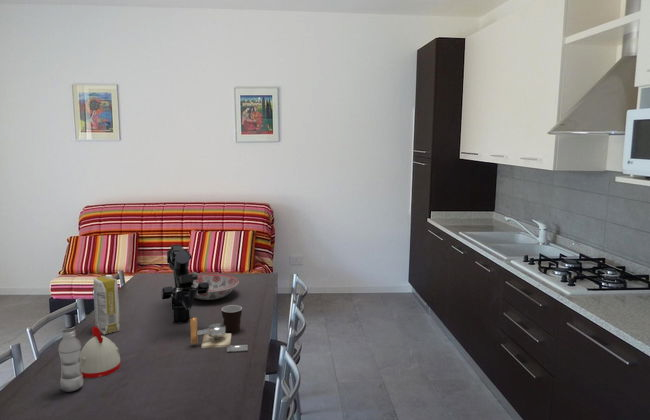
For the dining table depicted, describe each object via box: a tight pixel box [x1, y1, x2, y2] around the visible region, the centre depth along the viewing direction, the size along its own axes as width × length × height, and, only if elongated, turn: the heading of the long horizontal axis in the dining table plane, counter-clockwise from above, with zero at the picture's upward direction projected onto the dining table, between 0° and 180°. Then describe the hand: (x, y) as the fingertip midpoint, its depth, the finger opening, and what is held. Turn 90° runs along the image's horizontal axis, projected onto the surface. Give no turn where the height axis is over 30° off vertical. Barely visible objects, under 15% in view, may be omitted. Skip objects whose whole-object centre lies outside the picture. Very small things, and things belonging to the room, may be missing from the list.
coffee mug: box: [221, 304, 243, 335], centre depth 201 cm, size 12×9×10 cm
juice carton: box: [92, 274, 121, 336], centre depth 197 cm, size 9×8×24 cm
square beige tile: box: [200, 333, 232, 349], centre depth 189 cm, size 11×11×3 cm
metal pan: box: [189, 316, 226, 345], centre depth 187 cm, size 14×7×10 cm, turn 118°
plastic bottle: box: [57, 328, 84, 393], centre depth 151 cm, size 6×7×20 cm
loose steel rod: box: [226, 344, 249, 353], centre depth 181 cm, size 8×2×2 cm, turn 98°
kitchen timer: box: [80, 325, 122, 379], centre depth 165 cm, size 14×14×15 cm
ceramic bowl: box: [192, 274, 240, 301], centre depth 242 cm, size 29×29×8 cm
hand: (189, 308), depth 190 cm, fingers closed
